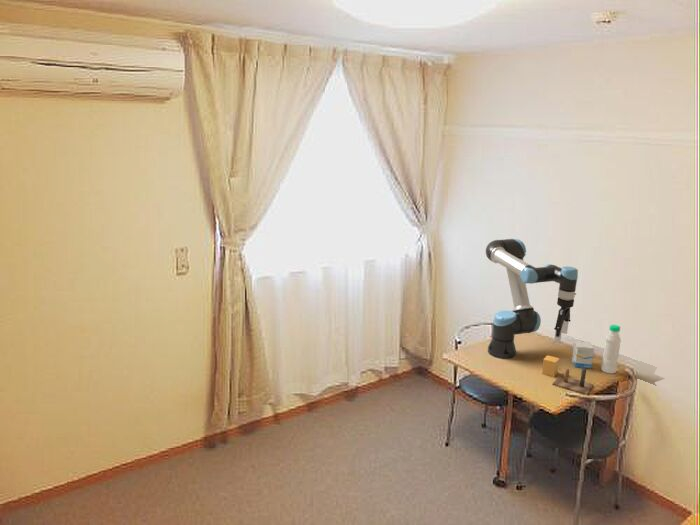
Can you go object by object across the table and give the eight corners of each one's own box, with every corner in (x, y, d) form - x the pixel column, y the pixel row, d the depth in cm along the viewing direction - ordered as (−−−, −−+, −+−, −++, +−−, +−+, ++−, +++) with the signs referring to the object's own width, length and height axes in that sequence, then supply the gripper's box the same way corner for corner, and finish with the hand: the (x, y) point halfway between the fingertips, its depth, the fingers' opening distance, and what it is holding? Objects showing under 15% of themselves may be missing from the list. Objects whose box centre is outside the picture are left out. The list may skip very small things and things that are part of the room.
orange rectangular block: (542, 373, 266) (543, 359, 264) (545, 369, 271) (547, 355, 269) (553, 377, 263) (555, 362, 261) (557, 372, 267) (559, 358, 265)
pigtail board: (552, 384, 255) (554, 366, 252) (559, 376, 264) (562, 358, 261) (586, 395, 245) (589, 376, 243) (593, 385, 254) (596, 367, 252)
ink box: (591, 369, 272) (594, 348, 269) (574, 367, 274) (577, 346, 271) (588, 361, 280) (590, 341, 277) (571, 360, 282) (574, 340, 279)
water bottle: (609, 375, 265) (616, 329, 259) (597, 369, 271) (604, 324, 265) (618, 372, 268) (626, 327, 262) (606, 366, 274) (613, 322, 268)
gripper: (567, 306, 245) (562, 347, 251) (579, 292, 265) (574, 331, 270) (551, 303, 249) (546, 343, 255) (564, 290, 269) (559, 328, 275)
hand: (560, 337), depth 263 cm, fingers open, 13 cm apart
